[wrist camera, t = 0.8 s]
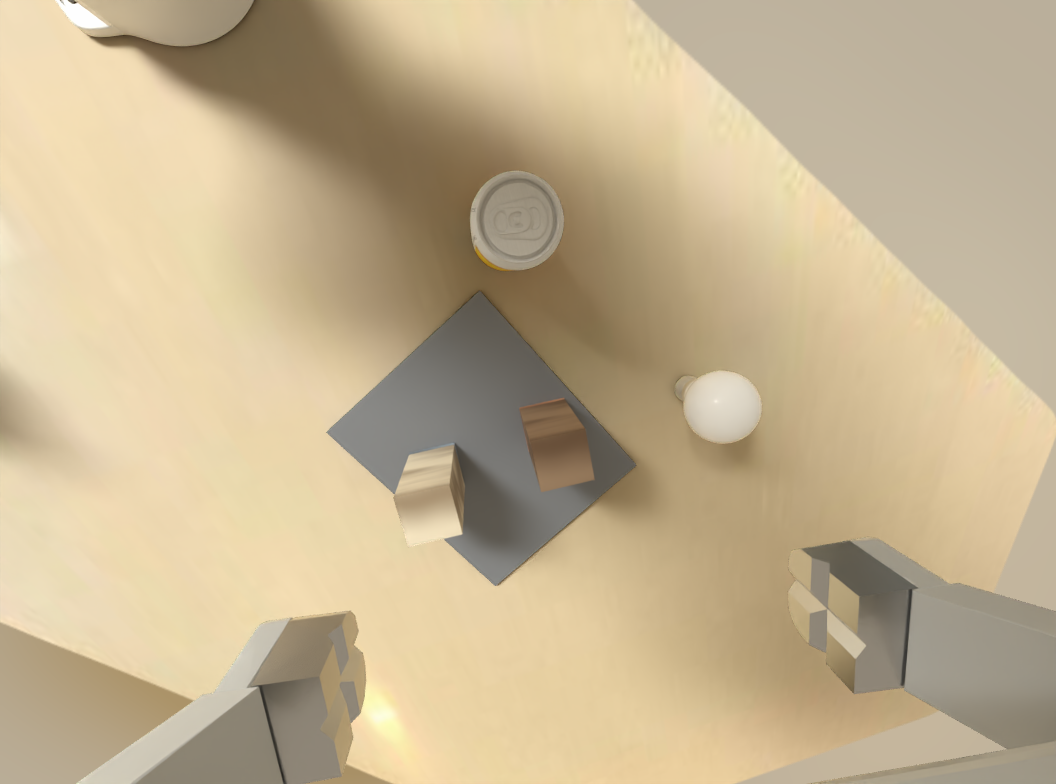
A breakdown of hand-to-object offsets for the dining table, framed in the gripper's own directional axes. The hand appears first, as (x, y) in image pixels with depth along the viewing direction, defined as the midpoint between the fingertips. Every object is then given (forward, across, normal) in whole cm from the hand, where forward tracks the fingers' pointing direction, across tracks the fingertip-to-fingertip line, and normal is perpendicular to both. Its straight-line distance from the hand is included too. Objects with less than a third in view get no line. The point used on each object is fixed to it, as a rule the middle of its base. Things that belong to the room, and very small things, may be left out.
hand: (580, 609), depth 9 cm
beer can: (+39, -1, -10) cm, 41 cm away
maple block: (+39, +8, +11) cm, 42 cm away
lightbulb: (+40, -18, +6) cm, 44 cm away
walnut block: (+39, -4, +8) cm, 40 cm away
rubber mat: (+40, +2, +10) cm, 41 cm away
